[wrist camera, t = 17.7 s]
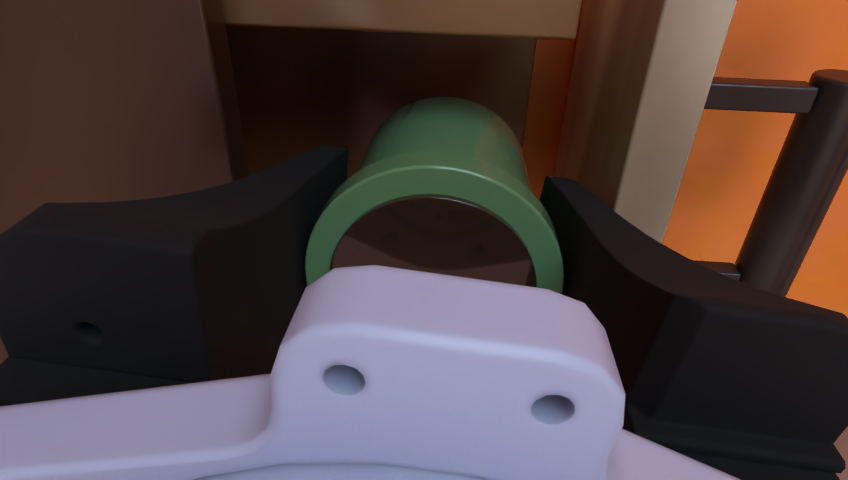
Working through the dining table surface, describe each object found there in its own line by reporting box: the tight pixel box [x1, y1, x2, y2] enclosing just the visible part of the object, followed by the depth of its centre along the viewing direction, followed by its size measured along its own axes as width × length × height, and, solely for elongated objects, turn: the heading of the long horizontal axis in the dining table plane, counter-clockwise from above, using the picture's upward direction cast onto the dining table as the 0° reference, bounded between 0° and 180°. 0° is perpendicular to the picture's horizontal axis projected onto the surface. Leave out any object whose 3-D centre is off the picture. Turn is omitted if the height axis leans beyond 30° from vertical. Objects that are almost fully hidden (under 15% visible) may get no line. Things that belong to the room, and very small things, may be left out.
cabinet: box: [0, 0, 250, 364], centre depth 15 cm, size 14×12×9 cm
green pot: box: [305, 97, 564, 294], centre depth 12 cm, size 5×5×5 cm
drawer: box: [221, 0, 848, 297], centre depth 14 cm, size 17×11×7 cm, turn 88°
